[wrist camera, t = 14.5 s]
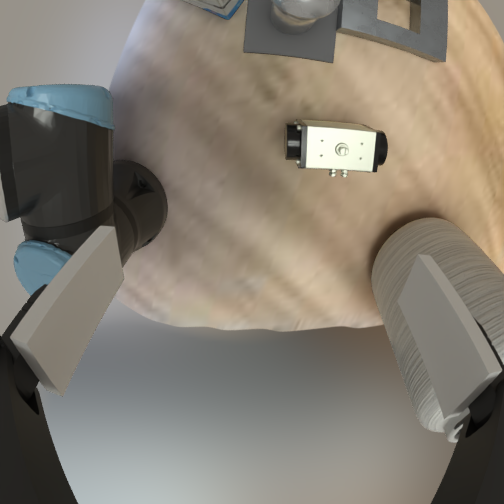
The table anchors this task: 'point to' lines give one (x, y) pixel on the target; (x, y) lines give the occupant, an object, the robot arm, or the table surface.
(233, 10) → the ink box
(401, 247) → the vase
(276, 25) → the grey bottle
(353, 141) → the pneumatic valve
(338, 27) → the frame
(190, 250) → the table surface
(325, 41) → the mat
